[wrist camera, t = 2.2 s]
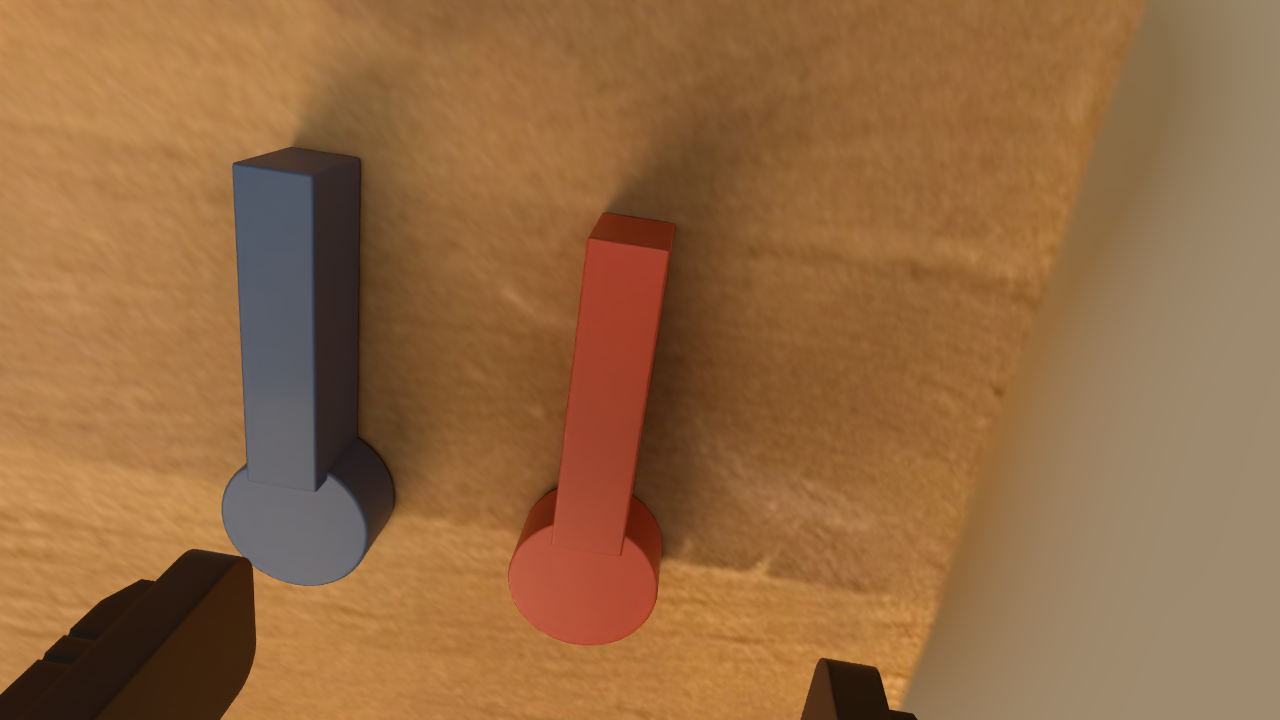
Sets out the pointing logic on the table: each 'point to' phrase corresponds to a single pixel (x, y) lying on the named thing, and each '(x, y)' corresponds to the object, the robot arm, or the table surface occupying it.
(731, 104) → the table surface
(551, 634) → the red spoon
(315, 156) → the blue spoon
